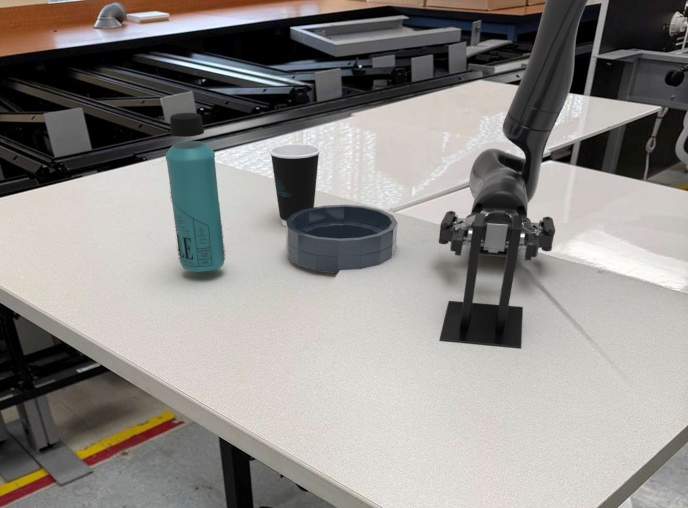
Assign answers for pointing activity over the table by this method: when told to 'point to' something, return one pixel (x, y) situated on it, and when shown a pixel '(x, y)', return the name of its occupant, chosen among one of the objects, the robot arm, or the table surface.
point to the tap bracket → (486, 319)
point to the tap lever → (495, 240)
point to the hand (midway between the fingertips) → (493, 250)
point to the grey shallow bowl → (340, 237)
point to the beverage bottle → (195, 197)
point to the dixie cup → (294, 177)
